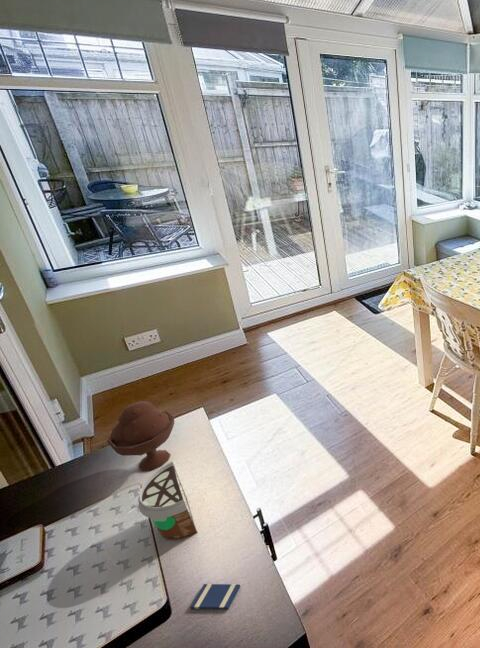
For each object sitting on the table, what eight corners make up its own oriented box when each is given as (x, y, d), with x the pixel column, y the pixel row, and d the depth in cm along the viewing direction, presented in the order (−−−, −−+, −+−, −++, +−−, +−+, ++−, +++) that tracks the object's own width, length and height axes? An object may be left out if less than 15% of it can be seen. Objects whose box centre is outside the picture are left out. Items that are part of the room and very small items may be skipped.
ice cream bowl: (109, 476, 88) (83, 422, 82) (160, 437, 98) (140, 387, 92) (148, 487, 86) (124, 434, 80) (196, 446, 96) (178, 396, 90)
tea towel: (191, 609, 67) (190, 606, 67) (204, 585, 70) (203, 583, 70) (228, 609, 67) (227, 607, 67) (240, 586, 70) (239, 584, 70)
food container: (147, 514, 81) (131, 478, 77) (186, 494, 85) (172, 459, 81) (157, 562, 73) (139, 524, 69) (199, 538, 77) (184, 501, 73)
